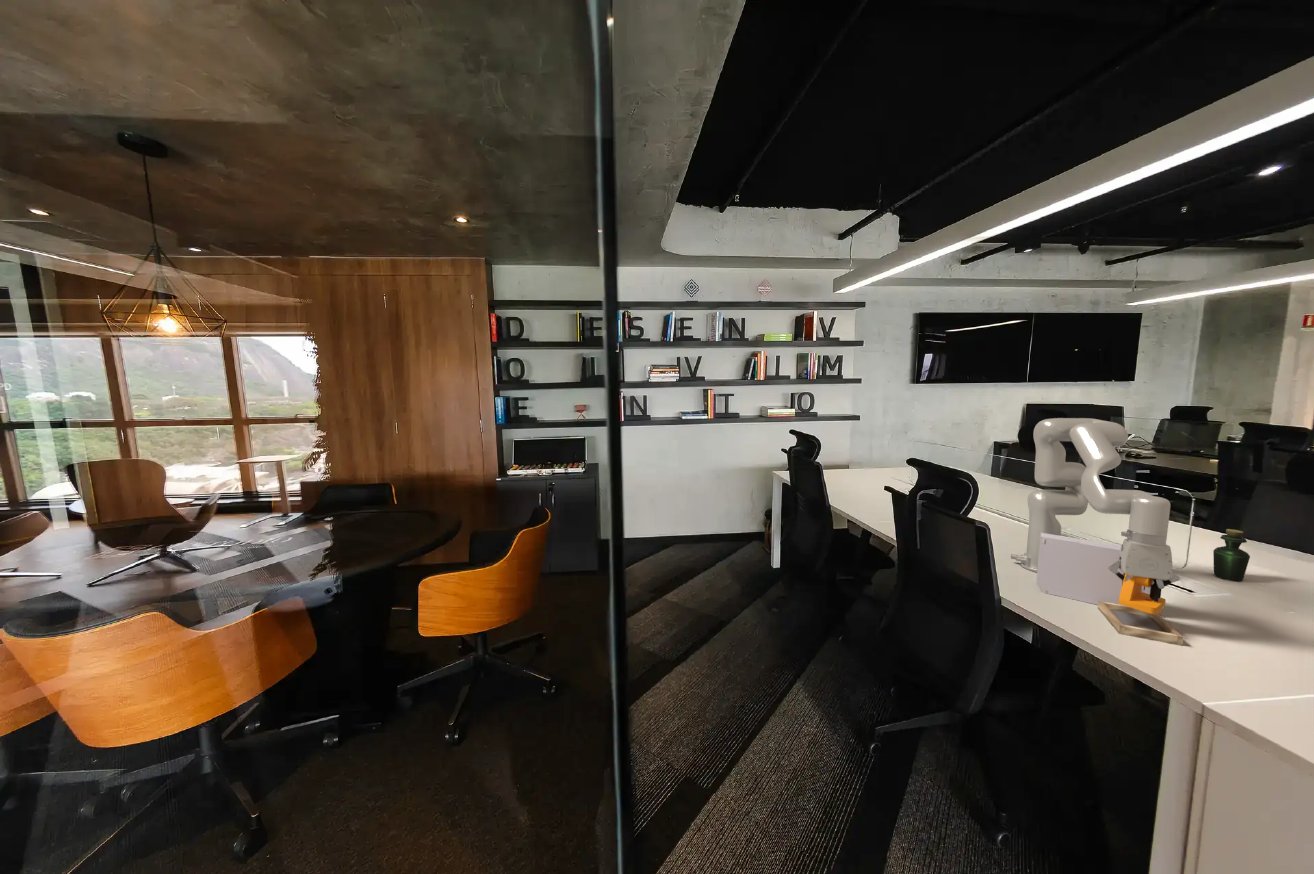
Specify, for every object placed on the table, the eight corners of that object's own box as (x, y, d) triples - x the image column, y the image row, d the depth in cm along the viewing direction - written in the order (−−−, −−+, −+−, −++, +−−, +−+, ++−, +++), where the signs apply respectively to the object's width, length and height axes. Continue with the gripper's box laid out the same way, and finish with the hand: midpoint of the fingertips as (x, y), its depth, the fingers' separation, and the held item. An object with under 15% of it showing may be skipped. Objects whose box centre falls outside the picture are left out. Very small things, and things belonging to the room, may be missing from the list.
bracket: (1154, 617, 123) (1159, 577, 122) (1118, 606, 129) (1123, 568, 128) (1165, 607, 128) (1171, 569, 127) (1130, 597, 135) (1135, 560, 133)
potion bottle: (1227, 573, 163) (1233, 527, 161) (1254, 583, 155) (1261, 534, 153) (1203, 573, 164) (1209, 527, 162) (1228, 582, 156) (1235, 534, 154)
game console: (1152, 618, 134) (1159, 556, 131) (1035, 591, 152) (1040, 536, 150) (1149, 610, 138) (1156, 550, 136) (1036, 585, 156) (1040, 532, 154)
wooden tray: (1119, 633, 126) (1119, 625, 125) (1097, 608, 140) (1098, 600, 140) (1182, 645, 119) (1183, 637, 119) (1153, 617, 134) (1154, 610, 133)
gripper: (1111, 537, 128) (1105, 596, 130) (1197, 547, 119) (1189, 609, 121) (1101, 530, 134) (1096, 586, 136) (1182, 538, 126) (1175, 598, 128)
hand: (1140, 596), depth 129 cm, fingers closed on bracket, 4 cm apart
